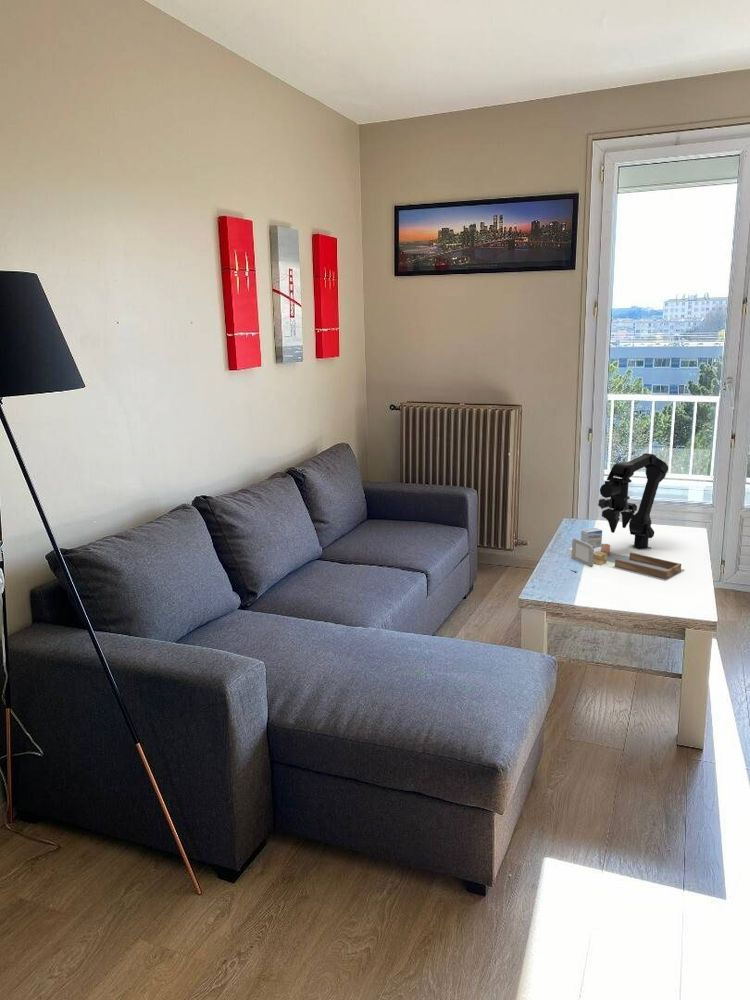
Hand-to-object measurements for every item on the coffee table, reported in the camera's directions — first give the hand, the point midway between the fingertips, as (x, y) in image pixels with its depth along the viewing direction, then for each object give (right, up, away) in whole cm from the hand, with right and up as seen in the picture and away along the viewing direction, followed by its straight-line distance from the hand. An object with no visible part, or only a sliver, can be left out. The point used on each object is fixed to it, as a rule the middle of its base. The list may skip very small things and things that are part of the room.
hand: (618, 530), depth 314 cm
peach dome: (-4, -10, +4) cm, 12 cm away
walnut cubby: (+7, -15, -15) cm, 22 cm away
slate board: (+2, -15, -10) cm, 18 cm away
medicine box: (-7, -9, +15) cm, 19 cm away
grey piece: (-20, -15, -6) cm, 26 cm away
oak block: (-10, -13, -7) cm, 18 cm away
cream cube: (-17, -12, +4) cm, 21 cm away
